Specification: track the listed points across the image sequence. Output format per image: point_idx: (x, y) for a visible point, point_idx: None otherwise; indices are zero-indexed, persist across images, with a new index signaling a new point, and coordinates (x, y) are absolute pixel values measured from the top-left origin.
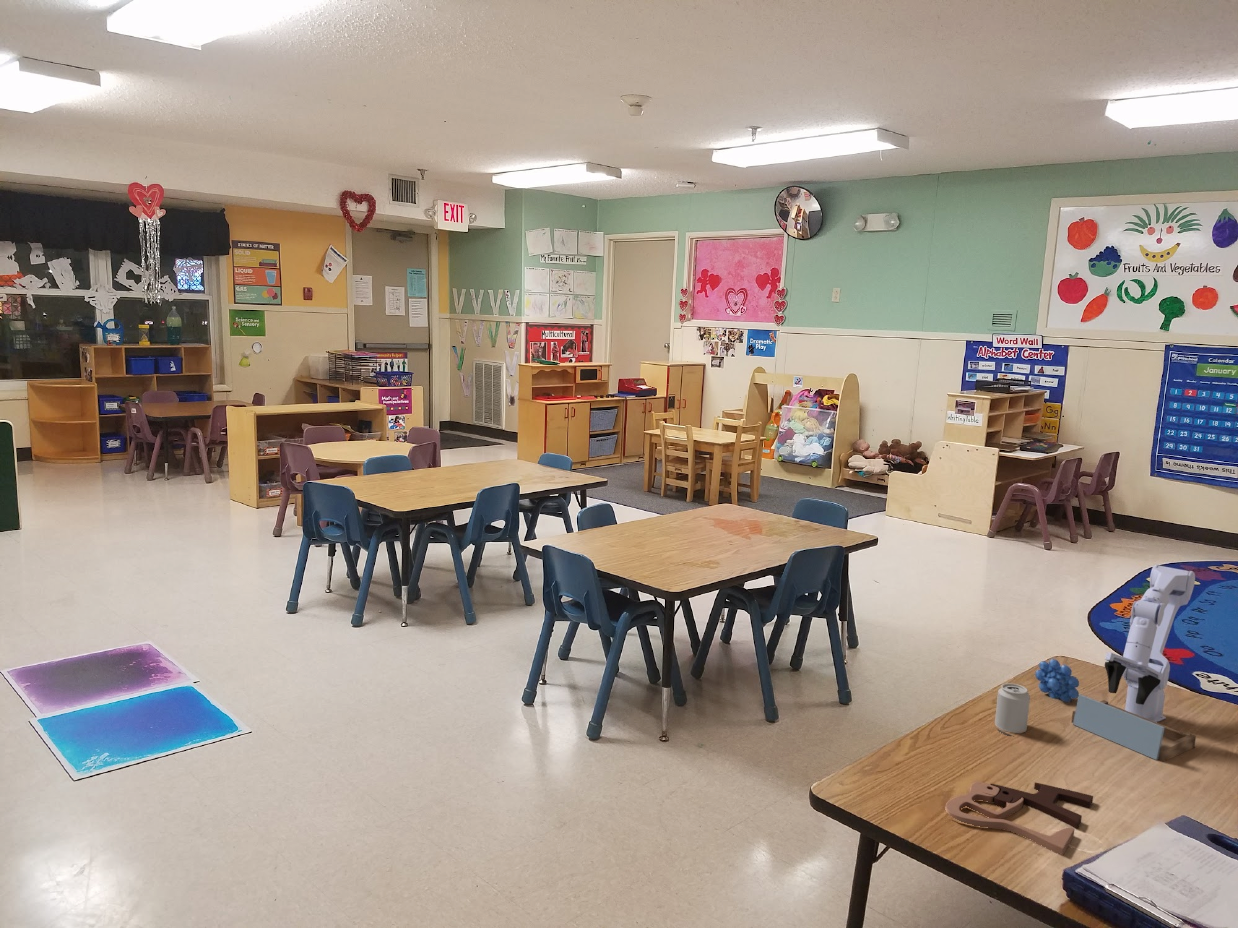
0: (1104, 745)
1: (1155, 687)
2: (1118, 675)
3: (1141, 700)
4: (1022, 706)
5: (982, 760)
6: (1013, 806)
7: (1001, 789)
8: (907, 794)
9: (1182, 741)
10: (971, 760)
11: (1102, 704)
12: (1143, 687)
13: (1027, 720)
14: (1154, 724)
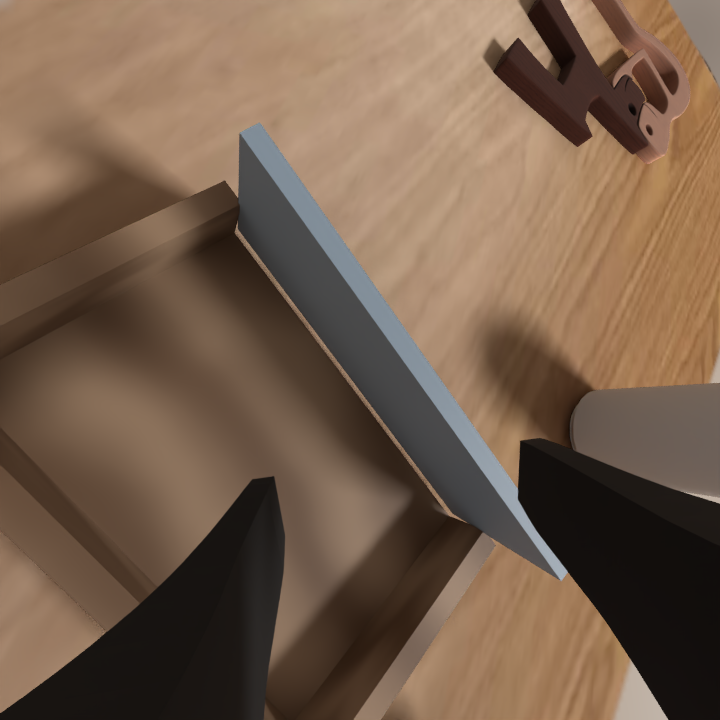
0: None
1: (69, 662)
2: (714, 511)
3: (272, 499)
4: (702, 386)
5: (638, 266)
6: (625, 63)
7: (636, 121)
8: (707, 157)
9: (39, 270)
10: (652, 265)
11: (491, 454)
12: (241, 673)
13: (610, 422)
14: (295, 175)
